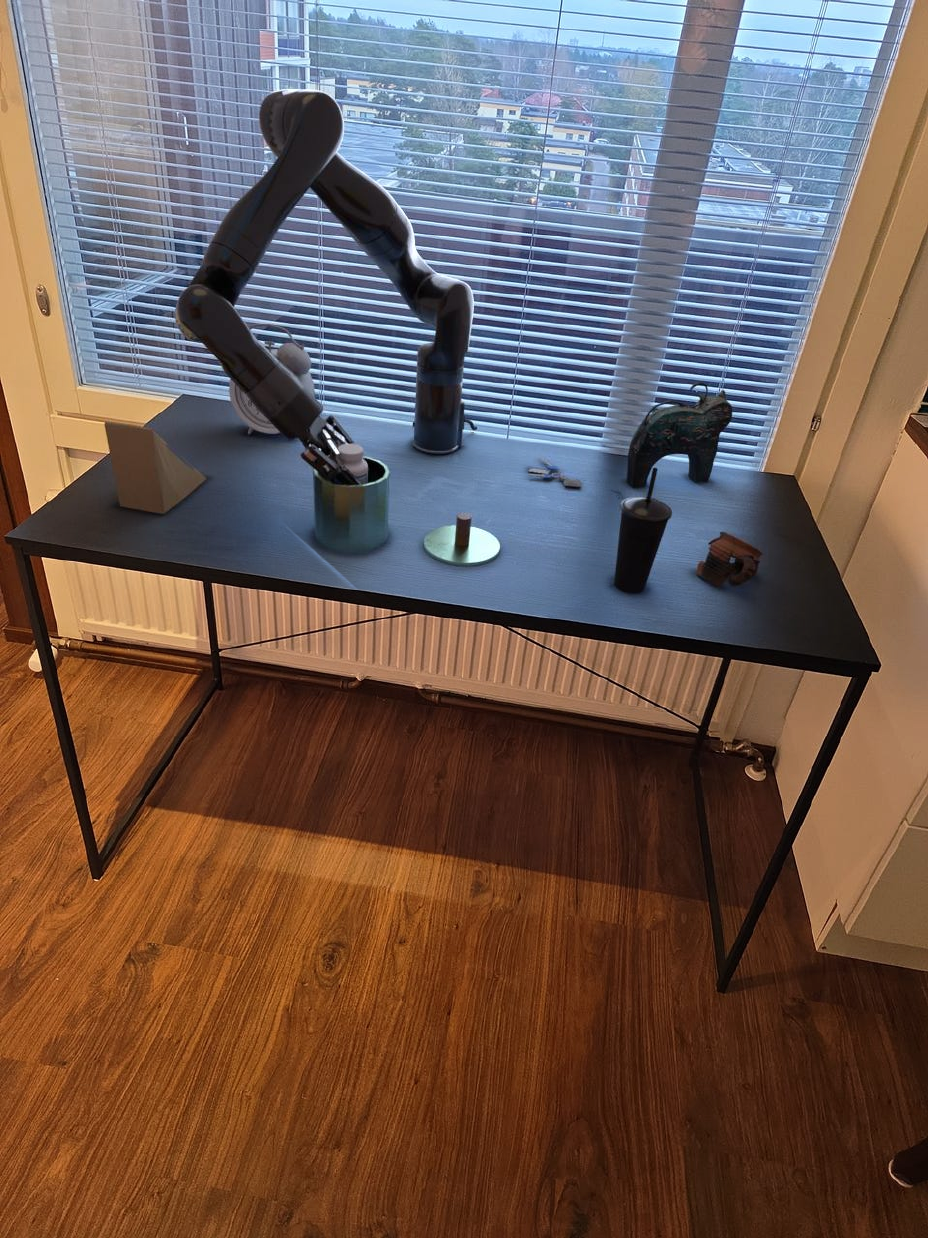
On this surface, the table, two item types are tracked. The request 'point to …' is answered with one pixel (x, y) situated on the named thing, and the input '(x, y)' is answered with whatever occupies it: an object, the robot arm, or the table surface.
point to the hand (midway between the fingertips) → (361, 482)
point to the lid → (461, 543)
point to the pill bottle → (354, 461)
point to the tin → (352, 510)
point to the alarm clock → (291, 359)
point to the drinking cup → (639, 539)
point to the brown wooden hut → (719, 561)
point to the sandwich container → (148, 469)
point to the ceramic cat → (679, 436)
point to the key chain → (566, 481)
